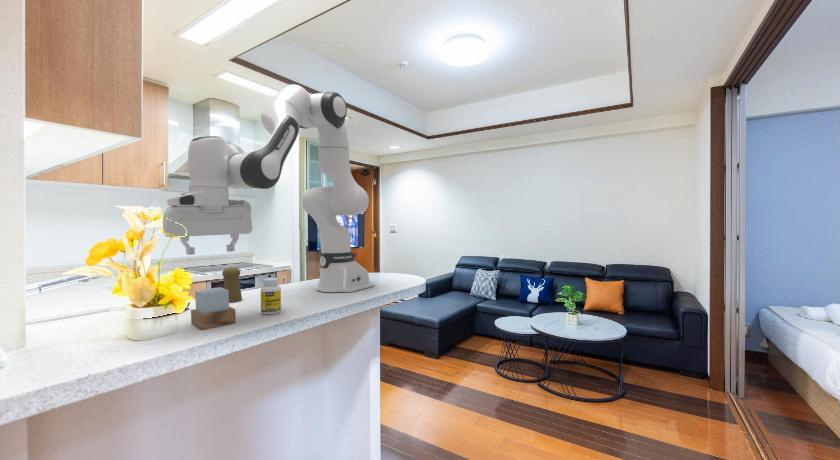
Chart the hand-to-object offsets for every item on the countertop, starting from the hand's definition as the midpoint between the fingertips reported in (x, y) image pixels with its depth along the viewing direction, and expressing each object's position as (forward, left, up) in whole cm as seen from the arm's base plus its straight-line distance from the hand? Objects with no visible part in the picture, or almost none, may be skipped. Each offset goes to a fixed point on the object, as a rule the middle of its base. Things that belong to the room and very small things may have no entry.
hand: (211, 252), depth 93 cm
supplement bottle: (-15, +1, -19) cm, 24 cm away
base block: (0, 0, -19) cm, 19 cm away
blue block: (0, 0, -15) cm, 15 cm away
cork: (-13, -23, -19) cm, 32 cm away
